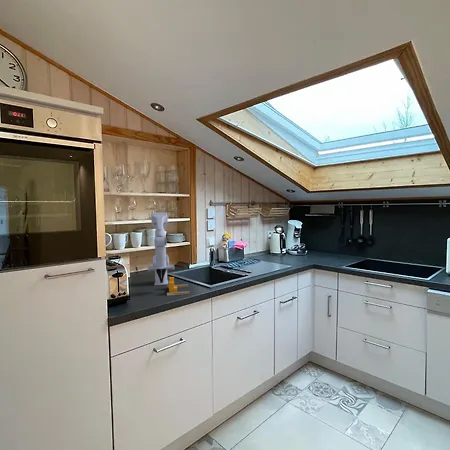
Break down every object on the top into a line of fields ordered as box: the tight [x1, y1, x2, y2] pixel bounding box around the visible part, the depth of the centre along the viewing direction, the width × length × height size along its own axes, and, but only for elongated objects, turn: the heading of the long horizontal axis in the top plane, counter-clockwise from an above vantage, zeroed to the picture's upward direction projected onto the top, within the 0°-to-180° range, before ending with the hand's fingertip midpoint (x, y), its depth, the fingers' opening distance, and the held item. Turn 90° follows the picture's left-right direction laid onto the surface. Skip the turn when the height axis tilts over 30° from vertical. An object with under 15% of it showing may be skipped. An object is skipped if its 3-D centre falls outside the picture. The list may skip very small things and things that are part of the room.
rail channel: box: [166, 283, 190, 296], centre depth 171 cm, size 16×12×1 cm
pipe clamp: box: [168, 276, 178, 293], centre depth 171 cm, size 12×4×6 cm, turn 9°
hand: (161, 282), depth 169 cm, fingers closed
